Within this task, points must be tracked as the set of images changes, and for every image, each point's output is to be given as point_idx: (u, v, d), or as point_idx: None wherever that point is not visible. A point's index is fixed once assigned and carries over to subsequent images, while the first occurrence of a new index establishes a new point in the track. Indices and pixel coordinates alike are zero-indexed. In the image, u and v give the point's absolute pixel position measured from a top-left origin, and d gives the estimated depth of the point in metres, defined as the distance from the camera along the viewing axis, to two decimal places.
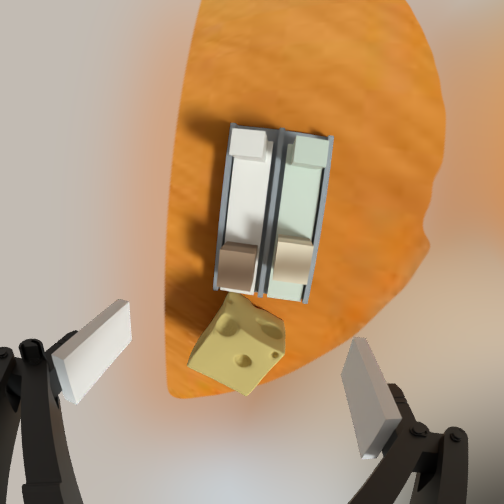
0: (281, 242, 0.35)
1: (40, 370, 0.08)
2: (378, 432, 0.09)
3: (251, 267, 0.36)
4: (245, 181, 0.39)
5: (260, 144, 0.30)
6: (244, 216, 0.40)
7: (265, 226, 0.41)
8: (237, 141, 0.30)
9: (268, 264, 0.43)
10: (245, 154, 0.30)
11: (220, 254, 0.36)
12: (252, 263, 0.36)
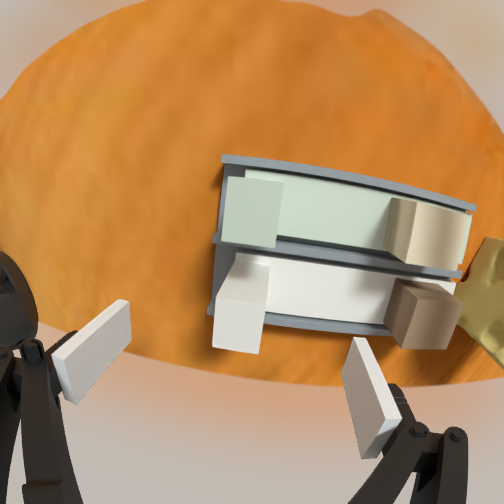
0: (407, 257, 0.19)
1: (40, 370, 0.08)
2: (378, 432, 0.09)
3: (434, 303, 0.19)
4: (299, 295, 0.25)
5: (241, 306, 0.17)
6: (352, 298, 0.25)
7: None
8: (236, 341, 0.18)
9: None
10: (259, 330, 0.17)
11: (407, 347, 0.20)
12: (429, 302, 0.19)
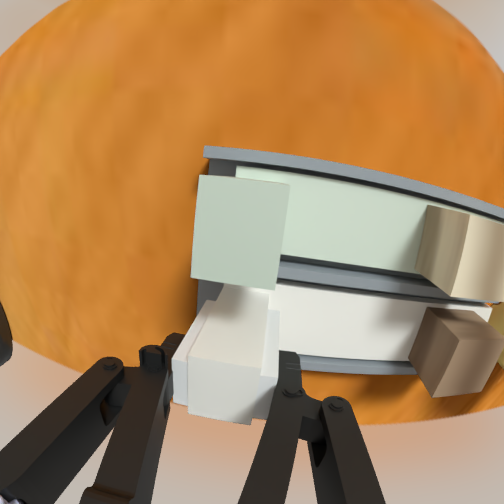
0: (453, 288, 0.12)
1: (157, 379, 0.10)
2: None
3: (477, 343, 0.13)
4: (306, 331, 0.19)
5: (225, 369, 0.11)
6: (373, 332, 0.19)
7: None
8: (219, 409, 0.12)
9: None
10: (251, 399, 0.11)
11: (439, 395, 0.14)
12: (472, 342, 0.13)
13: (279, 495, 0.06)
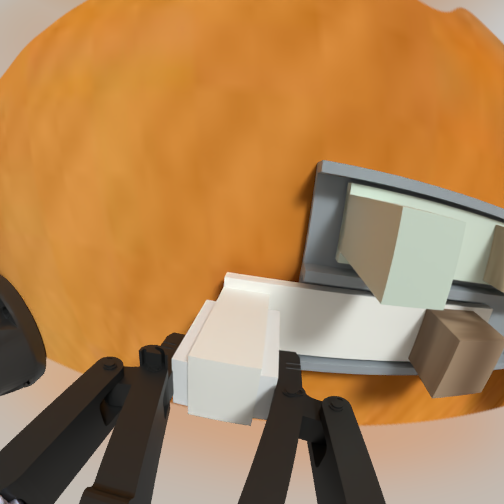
0: None
1: (157, 379, 0.10)
2: (258, 389, 0.11)
3: (477, 343, 0.13)
4: (307, 331, 0.19)
5: (225, 369, 0.11)
6: (374, 333, 0.19)
7: None
8: (219, 410, 0.12)
9: None
10: (251, 399, 0.11)
11: (440, 396, 0.14)
12: (472, 343, 0.13)
13: (279, 495, 0.06)
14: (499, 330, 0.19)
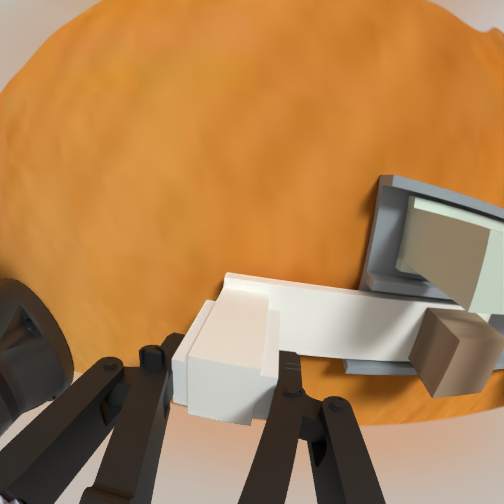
0: None
1: (157, 379, 0.10)
2: None
3: (477, 343, 0.13)
4: (307, 331, 0.19)
5: (225, 369, 0.11)
6: (374, 333, 0.19)
7: None
8: (219, 410, 0.12)
9: None
10: (251, 399, 0.11)
11: (440, 396, 0.14)
12: (472, 342, 0.13)
13: (279, 495, 0.06)
14: None
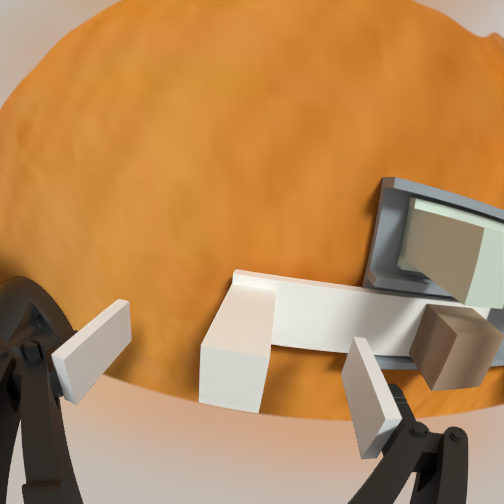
0: None
1: (40, 370, 0.08)
2: (378, 432, 0.09)
3: (474, 338, 0.14)
4: (311, 326, 0.20)
5: (235, 358, 0.12)
6: (375, 328, 0.19)
7: None
8: (229, 398, 0.13)
9: None
10: (260, 387, 0.12)
11: (439, 388, 0.15)
12: (469, 337, 0.14)
13: None
14: None
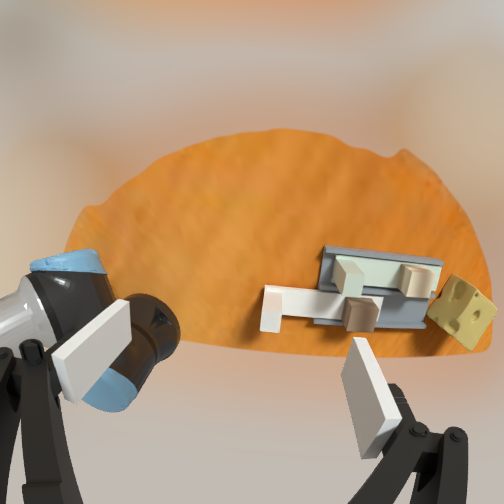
0: (407, 294, 0.43)
1: (40, 370, 0.08)
2: (378, 432, 0.09)
3: (361, 309, 0.45)
4: (296, 306, 0.51)
5: (272, 313, 0.43)
6: (323, 306, 0.50)
7: None
8: (270, 327, 0.43)
9: None
10: (279, 322, 0.43)
11: (350, 330, 0.46)
12: (358, 308, 0.45)
13: None
14: (414, 309, 0.50)
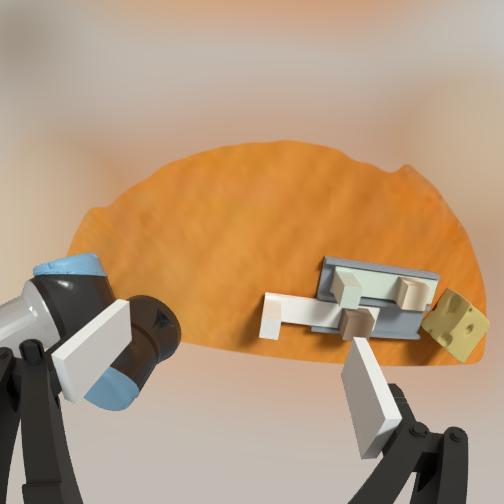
0: (402, 306, 0.45)
1: (40, 370, 0.08)
2: (378, 432, 0.09)
3: (357, 320, 0.46)
4: (295, 313, 0.52)
5: (271, 321, 0.44)
6: (321, 315, 0.52)
7: None
8: (269, 334, 0.45)
9: None
10: (278, 330, 0.45)
11: (346, 339, 0.47)
12: (355, 319, 0.46)
13: None
14: (409, 320, 0.52)
